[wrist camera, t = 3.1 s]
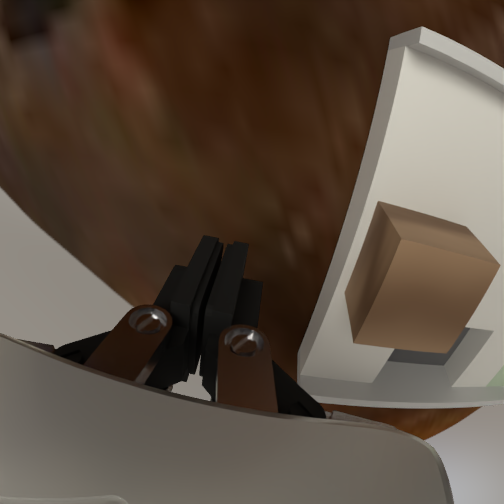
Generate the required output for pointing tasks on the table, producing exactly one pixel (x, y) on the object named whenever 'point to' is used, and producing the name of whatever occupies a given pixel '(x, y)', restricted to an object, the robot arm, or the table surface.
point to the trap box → (428, 202)
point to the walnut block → (416, 281)
